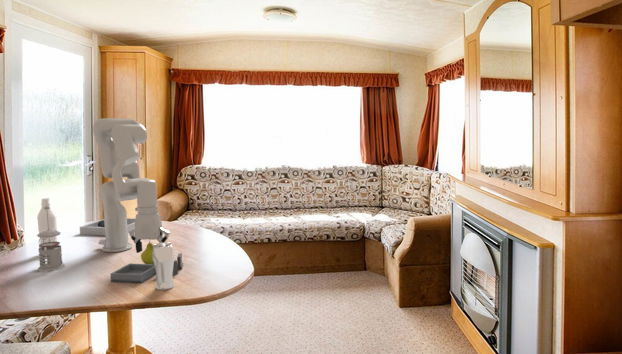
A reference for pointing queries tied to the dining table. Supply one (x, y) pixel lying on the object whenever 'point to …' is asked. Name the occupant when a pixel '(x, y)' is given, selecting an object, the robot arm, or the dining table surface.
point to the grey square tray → (133, 273)
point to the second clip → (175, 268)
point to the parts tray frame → (95, 230)
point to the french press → (50, 251)
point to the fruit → (148, 254)
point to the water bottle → (44, 223)
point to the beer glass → (163, 265)
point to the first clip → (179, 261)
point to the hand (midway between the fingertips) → (150, 252)
